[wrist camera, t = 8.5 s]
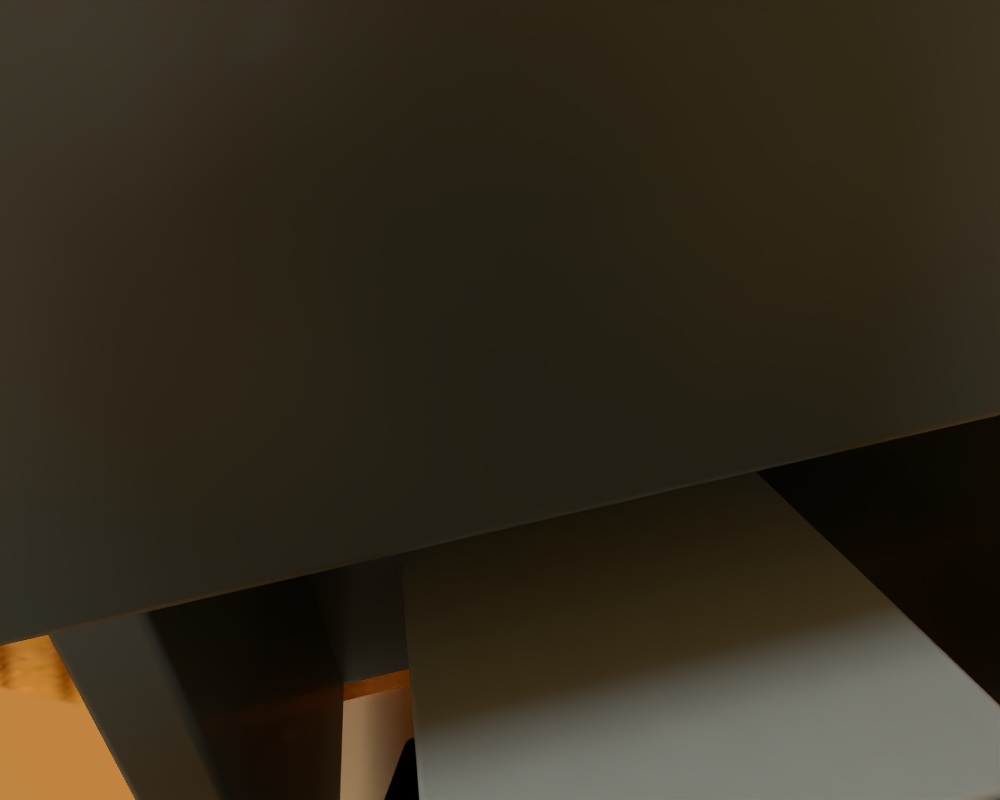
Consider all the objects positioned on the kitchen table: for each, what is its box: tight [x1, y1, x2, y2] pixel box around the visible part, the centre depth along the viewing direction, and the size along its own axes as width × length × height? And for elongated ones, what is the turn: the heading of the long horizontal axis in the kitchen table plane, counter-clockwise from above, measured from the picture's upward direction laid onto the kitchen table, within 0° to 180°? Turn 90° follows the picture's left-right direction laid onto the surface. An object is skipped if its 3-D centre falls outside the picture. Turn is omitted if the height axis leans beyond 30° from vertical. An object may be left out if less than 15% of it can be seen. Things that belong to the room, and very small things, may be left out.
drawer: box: [48, 415, 1000, 800], centre depth 10 cm, size 14×12×7 cm
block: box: [400, 472, 1000, 800], centre depth 8 cm, size 5×5×5 cm
